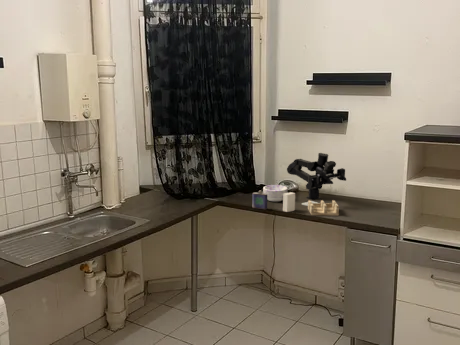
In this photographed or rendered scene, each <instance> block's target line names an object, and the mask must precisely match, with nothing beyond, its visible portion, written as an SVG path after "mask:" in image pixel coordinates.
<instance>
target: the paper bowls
mask: <svg viewBox="0 0 460 345" xmlns="http://www.w3.org/2000/svg"><path fill="white" fill-rule="evenodd" d="M262 190H263V191H262V193H265V194H267V201H270V202H281V201H282V202H283V194H284V193H289V192H288V190H289V189H288V187H287V186H285V185H282V184H268V185H265V186H263V188H262Z"/></svg>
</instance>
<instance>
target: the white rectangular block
mask: <svg viewBox="0 0 460 345" xmlns="http://www.w3.org/2000/svg"><path fill="white" fill-rule="evenodd" d="M295 210H296V193H295V192H293V191H292V192H291V191H290V192H288V193H284V194H283V200H282V211H283V212H286V213H289V212H293V211H295Z"/></svg>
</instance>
